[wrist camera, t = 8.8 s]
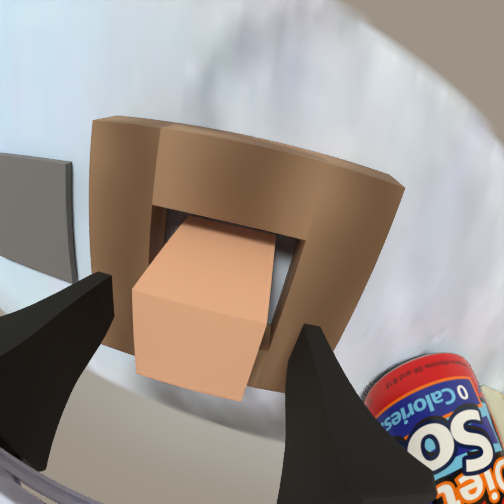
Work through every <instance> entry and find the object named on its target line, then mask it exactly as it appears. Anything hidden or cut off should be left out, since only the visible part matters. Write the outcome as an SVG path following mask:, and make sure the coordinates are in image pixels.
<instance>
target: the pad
mask: <svg viewBox="0 0 504 504" xmlns="http://www.w3.org/2000/svg"><path fill="white" fill-rule="evenodd" d="M71 164H72V162H69V161H62V160H55V159H48V158H40V157H32V156H24V155H16V154H7V153H0V256H2V257H5V258H7V259H10V260H12V261H15V262H17V263H20V264H22V265H25V266H27V267H30V268H32V269H35V270H38V271H40V272H43V273H46V274H48V275H51V276H54V277H57V278H59V279H62V280H65V281H68V282H70V283H73V282H74V281H75V280H76V279H77V275H76V266H75V256H74V244H73V229H72V204H71Z"/></svg>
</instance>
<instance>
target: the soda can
mask: <svg viewBox="0 0 504 504" xmlns="http://www.w3.org/2000/svg"><path fill="white" fill-rule="evenodd" d="M364 404H365V405H366V407H367V408H368V409H369V411H370V412H371V413H372V415H373V416H374V417H375V418H376V419H377V421H378V422H379V423H380V424H381V425H382V426H383V427H384V428H385V430H386V431H387V432H388V433H389V434H390V435H391V436H392V437H393V438H394V439H395V440H396V441H397V442H398V443H399V444H400V445H401V446H402V447H404V448H405V449H406V450H407V451H408V452H409V453H410V454H411V455H413V456H414V457H415V458H417V459H418V460H419V461H420V462H422V463H423V464H424V465H426V466H427V467H428V468H430V469H431V470H432V471H433V474H434V478H435V483H436V489H437V497H436V498H435V500H433V501H432V502H431V503H430V504H504V446H503V443H502V440H501V437H500V434H499V432H498V429H497V426H496V424H495V421H494V418H493V416H492V413H491V411H490V408H489V406H488V404H487V401H486V399H485V396H484V394H483V392H482V390H481V387H480V385H479V383H478V381H477V378H476V376H475V374H474V372H473V370H472V368H471V366H470V365H469V363H468V362H467V360H466V359H465V358H463V357H462V356H459V355H457V354H453V353H433V354H428V355H424V356H420V357H417V358H414V359H412V360H410V361H407V362H405V363H403V364H401V365H399V366H397V367H396V368H394V369H393V370H391V371H390V372H388V373H387V374H385V375H384V376H383V377H382V378H381V379H379V380H378V381H377V382H376V383H375V384H374V386H373V387H372V388H371V389H370V391H369V392H368V394H367V396H366V398H365V401H364Z"/></svg>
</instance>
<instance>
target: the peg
mask: <svg viewBox="0 0 504 504" xmlns="http://www.w3.org/2000/svg"><path fill="white" fill-rule="evenodd" d="M275 240H276V235H273V234H269V233H265V232H260V231H256V230H252V229H248V228H243V227H239V226H235V225H231V224H226V223H222V222H217V221H213V220H209V219H204V218H200V217H195V216H191V215H188V216H187V218H186V219H185V220H184V221H183V223H182V224H181V225H180V226H179V228H178V229H177V230H176V232H175V233H174V234H173V235H172V237H171V238H170V239H169V240H168V242H167V243H166V244H165V246H164V247H163V248H162V250H161V251H160V252H159V253H158V255H157V256H156V257H155V259H154V260H153V261H152V263H151V264H150V265H149V267H148V268H147V269H146V271H145V272H144V273H143V275H142V276H141V278H140V279H139V280H138V282H137V283H136V284H135V286H134V287H133V288H132V310H133V332H134V348H135V362H136V373H137V374H140V375H143V376H146V377H149V378H152V379H155V380H158V381H162V382H165V383H168V384H172V385H175V386H179V387H182V388H186V389H190V390H194V391H197V392H201V393H205V394H209V395H213V396H218V397H222V398H226V399H231V400H235V401H240V402H241V400H242V397H243V395H244V392H245V389H246V386H247V383H248V380H249V377H250V374H251V371H252V368H253V365H254V362H255V359H256V356H257V353H258V350H259V347H260V344H261V341H262V337H263V334H264V331H265V328H266V325H267V318H268V309H269V300H270V290H271V281H272V271H273V261H274V251H275Z"/></svg>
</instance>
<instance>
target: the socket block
mask: <svg viewBox="0 0 504 504" xmlns="http://www.w3.org/2000/svg"><path fill="white" fill-rule="evenodd" d="M404 190H405V187H404V186H402V185H401V184H400V183H399V182H398V181H396V180H395V179H394V178H393V177H392V176H390V175H389V174H386V173H383V172H380V171H377V170H374V169H371V168H368V167H365V166H361V165H358V164H355V163H352V162H348V161H345V160H342V159H338V158H335V157H331V156H328V155H324V154H321V153H317V152H313V151H310V150H306V149H302V148H298V147H294V146H290V145H286V144H282V143H278V142H274V141H270V140H265V139H261V138H256V137H252V136H247V135H242V134H237V133H232V132H227V131H222V130H216V129H211V128H205V127H200V126H193V125H187V124H181V123H174V122H167V121H160V120H152V119H144V118H135V117H126V116H112V117H107V118H102V119H97V120H93V124H92V135H91V150H90V169H89V235H90V255H91V269H92V274H94V273H96V272H98V271H99V272H102V273H106V274H109V275H112V286H113V302H114V315H115V317H114V319H113V321H112V323H111V325H110V328H109V330H108V332H107V334H106V336H105V338H104V339H103V341H102V342H101V344H102V345H105V346H108V347H111V348H114V349H116V350H119V351H122V352H125V353H128V354H131V355H134V356H135V348H134V332H133V310H132V288H133V287H134V286H135V284H136V283H137V282H138V280H139V279H140V278H141V276H142V275H143V273H144V272H145V271H146V269H147V268H148V267H149V265H150V264H151V263H152V261H153V260H154V259H155V257H156V256H157V255H158V253H159V252H160V251H161V250H162V248H163V247H164V239H165V228H166V218H167V208H169V209H174V210H178V211H183V212H187V213H192V214H196V215H201V216H205V217H209V218H214V219H218V220H223V221H227V222H231V223H236V224H240V225H244V226H248V227H253V228H257V229H261V230H265V231H269V232H274V233H278V234H282V235H286V236H290V237H294V238H298V241H297V244H296V247H295V251H294V254H293V257H292V260H291V263H290V267H289V270H288V273H287V276H286V279H285V283H284V286H283V289H282V292H281V295H280V298H279V301H278V304H277V307H276V310H275V313H274V316H273V319H272V323H271V325H270V324H267V325H266V328H265V331H264V334H263V337H262V341H261V344H260V347H259V350H258V353H257V356H256V359H255V362H254V365H253V368H252V371H251V374H250V377H249V380H248V383H247V386H250V387H255V388H260V389H265V390H270V391H276V392H281V393H285V383H286V373H287V365H288V360H289V357H290V355H291V353H292V351H293V348H294V346H295V343H296V341H297V339H298V336H299V334H300V332H301V329H302V327H303V324H304V323H306V324H311V325H316V326H320V327H321V329H322V331H323V333H324V335H325V337H326V339H327V341H328V343H329V345H330V347H331V349H332V351H334V349H335V347H336V345H337V344H338V342H339V340H340V338H341V336H342V334H343V332H344V330H345V328H346V326H347V324H348V322H349V320H350V318H351V316H352V314H353V312H354V310H355V308H356V306H357V304H358V301H359V299H360V297H361V295H362V293H363V291H364V289H365V286H366V284H367V282H368V280H369V278H370V275H371V273H372V271H373V269H374V266H375V264H376V262H377V259H378V257H379V255H380V252H381V250H382V247H383V245H384V243H385V240H386V238H387V235H388V233H389V230H390V228H391V225H392V222H393V220H394V217H395V215H396V212H397V209H398V207H399V204H400V201H401V198H402V195H403V193H404Z"/></svg>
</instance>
